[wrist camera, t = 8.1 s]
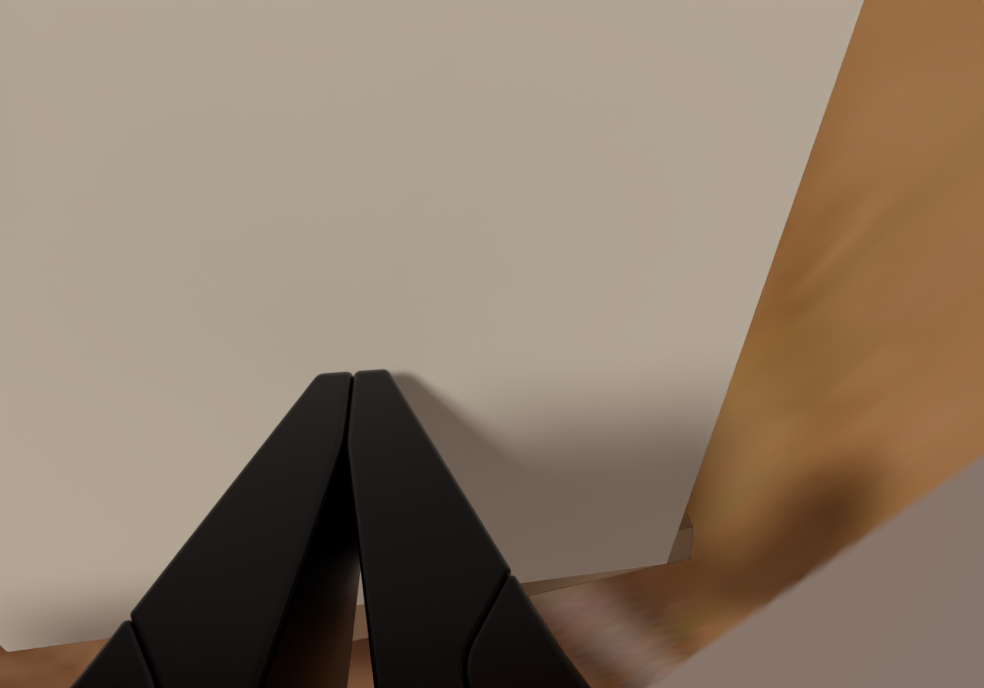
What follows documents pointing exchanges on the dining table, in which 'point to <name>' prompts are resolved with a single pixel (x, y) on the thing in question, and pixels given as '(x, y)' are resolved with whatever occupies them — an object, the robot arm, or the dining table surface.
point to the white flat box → (380, 258)
